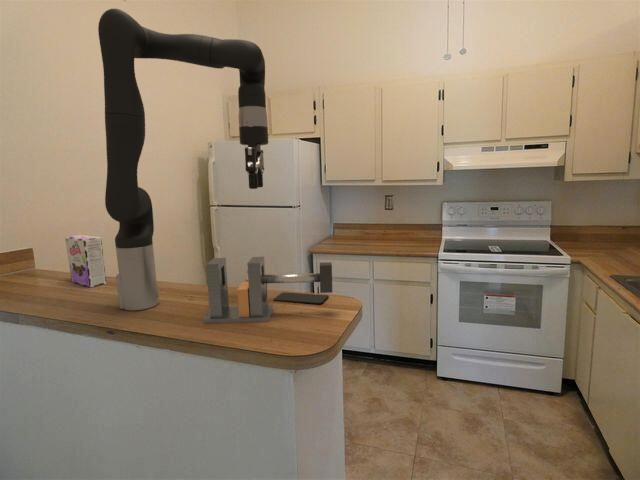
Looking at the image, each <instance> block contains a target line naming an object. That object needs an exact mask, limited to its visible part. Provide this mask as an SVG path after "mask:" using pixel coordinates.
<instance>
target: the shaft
mask: <svg viewBox="0 0 640 480" xmlns="http://www.w3.org/2000/svg"><path fill="white" fill-rule="evenodd" d="M265 283H267V284H294V283H295V284H298V283H299V284H300V283H301V284H302V283H319V289H320V290H319V293H320V294H325V293H328V294H331V293H333V264H332V262H331V261H330V262H328V261H327V262H319V272H318V273H315V272H313V273H283V274H281V273H279V274H265V275H262V284H265Z"/></svg>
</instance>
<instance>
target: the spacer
mask: <svg viewBox="0 0 640 480" xmlns="http://www.w3.org/2000/svg"><path fill="white" fill-rule="evenodd" d="M236 290H237V306H238V307H239V317H249V316H250V314H251V313H250V297H249V281H247V282H246V281H243V282H242V283H241V284H240V285H239V286H238V288H237V289H236Z"/></svg>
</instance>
